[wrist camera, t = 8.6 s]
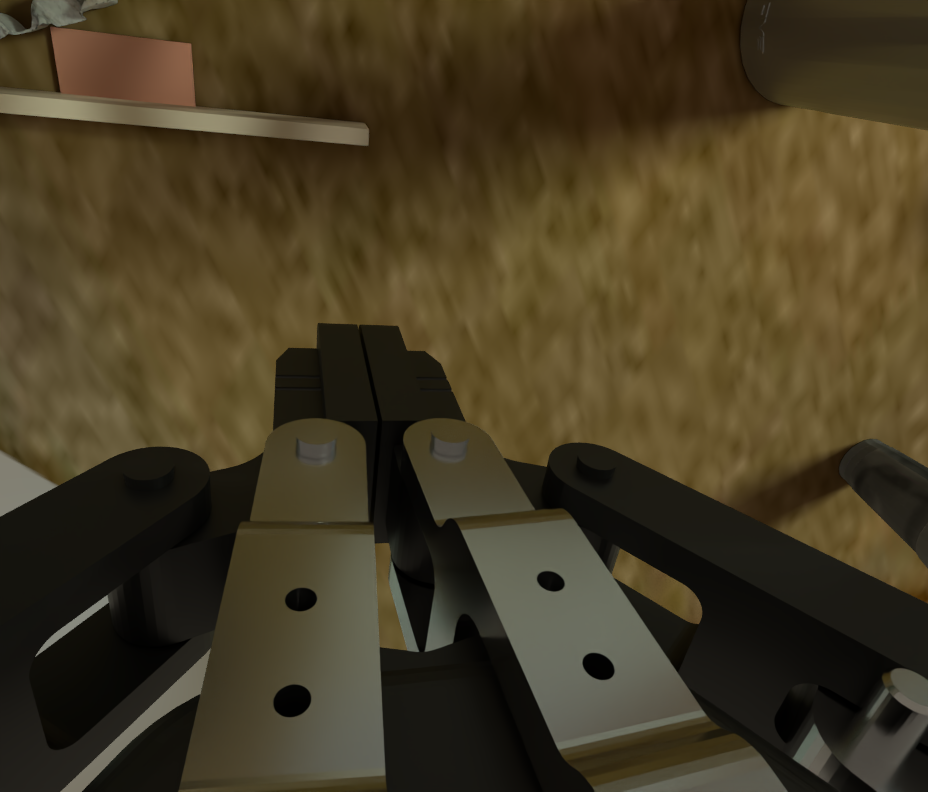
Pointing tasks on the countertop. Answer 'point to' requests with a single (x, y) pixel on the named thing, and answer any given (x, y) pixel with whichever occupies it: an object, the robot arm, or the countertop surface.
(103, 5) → the egg carton
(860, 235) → the countertop surface
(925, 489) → the beverage cup
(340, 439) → the robot arm
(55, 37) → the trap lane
